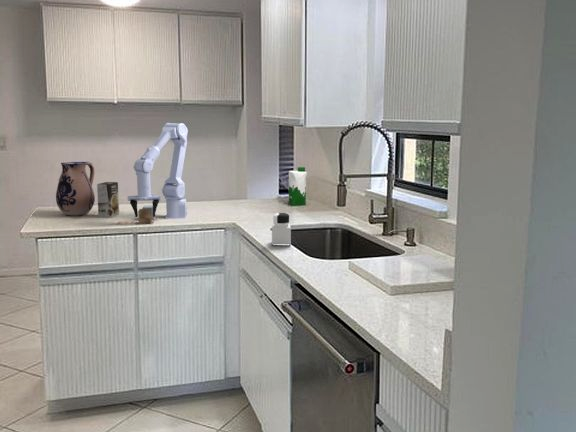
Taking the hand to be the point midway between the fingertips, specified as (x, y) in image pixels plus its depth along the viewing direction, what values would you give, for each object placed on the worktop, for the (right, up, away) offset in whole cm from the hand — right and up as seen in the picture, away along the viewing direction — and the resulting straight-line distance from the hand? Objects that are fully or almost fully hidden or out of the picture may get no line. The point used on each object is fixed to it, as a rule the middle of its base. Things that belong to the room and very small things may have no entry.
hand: (145, 216), depth 264 cm
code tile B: (0, -2, +9) cm, 9 cm away
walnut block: (0, -3, 0) cm, 3 cm away
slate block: (0, -1, +9) cm, 9 cm away
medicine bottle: (+61, -11, -36) cm, 72 cm away
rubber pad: (0, -3, +1) cm, 3 cm away
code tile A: (-9, -3, +1) cm, 9 cm away
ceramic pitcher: (-38, +1, +23) cm, 44 cm away
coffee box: (-21, 0, +16) cm, 27 cm away
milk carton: (+69, +6, +53) cm, 87 cm away
